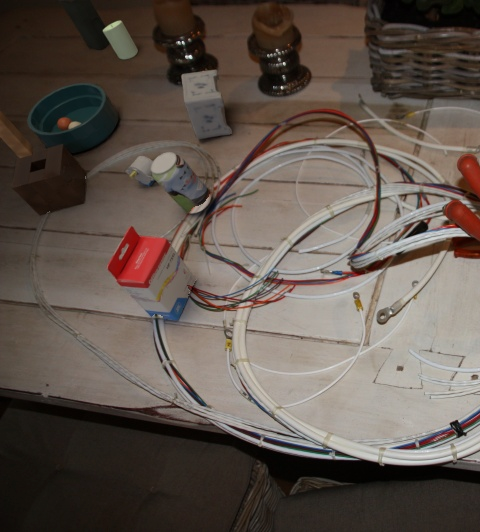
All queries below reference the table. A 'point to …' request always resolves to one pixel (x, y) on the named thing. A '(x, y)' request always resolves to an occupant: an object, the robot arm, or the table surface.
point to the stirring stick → (14, 138)
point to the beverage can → (179, 181)
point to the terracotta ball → (64, 123)
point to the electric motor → (141, 170)
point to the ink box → (152, 274)
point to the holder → (50, 180)
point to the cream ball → (73, 124)
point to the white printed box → (205, 104)
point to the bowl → (74, 117)
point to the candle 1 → (87, 22)
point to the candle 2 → (120, 40)
